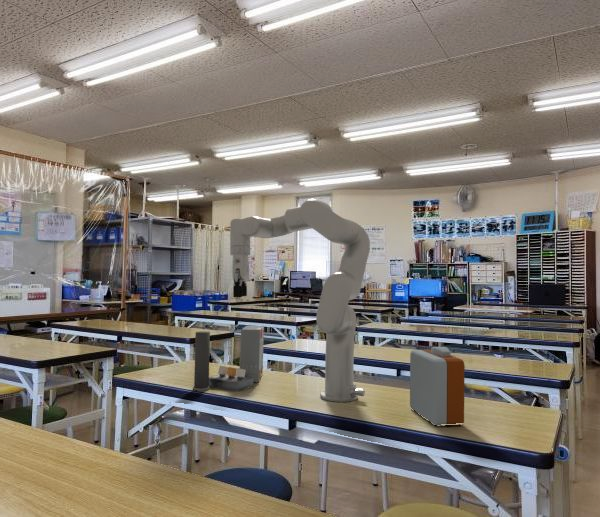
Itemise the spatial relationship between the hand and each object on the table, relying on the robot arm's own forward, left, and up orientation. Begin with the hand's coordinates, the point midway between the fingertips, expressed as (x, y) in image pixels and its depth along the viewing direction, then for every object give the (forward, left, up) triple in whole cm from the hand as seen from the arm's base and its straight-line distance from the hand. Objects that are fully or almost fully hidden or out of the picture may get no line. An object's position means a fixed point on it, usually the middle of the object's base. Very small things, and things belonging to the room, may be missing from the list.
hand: (240, 296), depth 175 cm
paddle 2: (0, +5, -29) cm, 30 cm away
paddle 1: (-4, +5, -29) cm, 30 cm away
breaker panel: (0, +5, -32) cm, 33 cm away
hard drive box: (+1, -10, -33) cm, 34 cm away
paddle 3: (+4, +5, -29) cm, 30 cm away
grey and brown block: (-73, +3, -33) cm, 80 cm away
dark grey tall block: (+6, +14, -32) cm, 36 cm away
